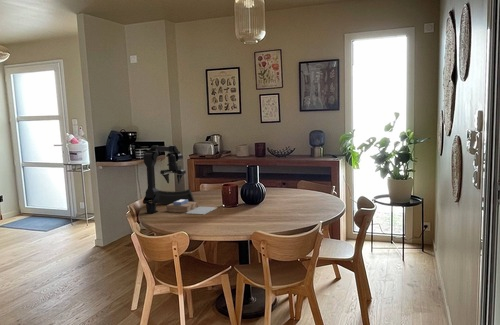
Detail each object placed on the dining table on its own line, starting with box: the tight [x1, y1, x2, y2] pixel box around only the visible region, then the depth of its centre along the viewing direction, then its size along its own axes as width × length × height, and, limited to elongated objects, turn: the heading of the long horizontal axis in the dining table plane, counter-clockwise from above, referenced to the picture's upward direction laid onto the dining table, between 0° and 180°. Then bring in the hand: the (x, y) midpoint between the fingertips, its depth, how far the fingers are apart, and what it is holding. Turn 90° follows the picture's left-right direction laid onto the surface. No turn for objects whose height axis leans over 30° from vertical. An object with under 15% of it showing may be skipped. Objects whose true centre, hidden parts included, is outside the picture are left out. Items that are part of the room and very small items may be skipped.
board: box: [166, 201, 199, 214], centre depth 275 cm, size 14×16×4 cm
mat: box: [186, 206, 218, 215], centre depth 269 cm, size 18×14×1 cm
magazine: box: [156, 188, 195, 206], centre depth 294 cm, size 17×3×30 cm
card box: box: [173, 199, 188, 205], centre depth 275 cm, size 9×6×2 cm, turn 157°
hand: (173, 183), depth 295 cm, fingers open, 9 cm apart
